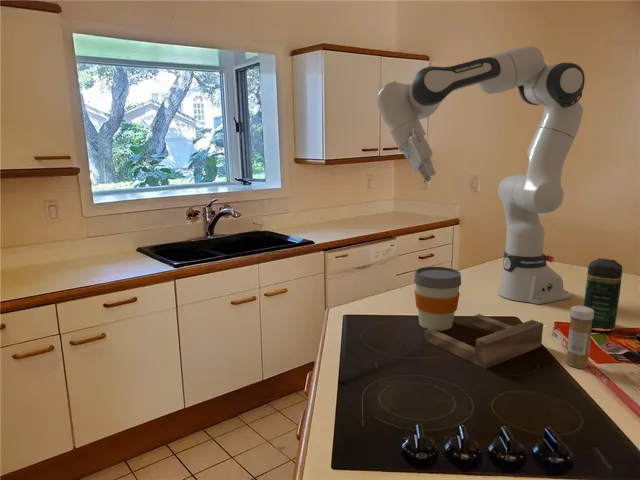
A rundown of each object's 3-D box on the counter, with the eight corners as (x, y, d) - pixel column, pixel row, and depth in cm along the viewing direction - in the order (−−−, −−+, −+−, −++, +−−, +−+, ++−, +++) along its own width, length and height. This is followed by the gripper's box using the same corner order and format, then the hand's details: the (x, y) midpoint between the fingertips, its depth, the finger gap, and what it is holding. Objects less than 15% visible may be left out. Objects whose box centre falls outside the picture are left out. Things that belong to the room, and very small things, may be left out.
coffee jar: (614, 336, 122) (622, 266, 119) (579, 329, 127) (586, 262, 123) (616, 324, 130) (624, 258, 126) (583, 318, 135) (590, 255, 131)
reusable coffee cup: (468, 326, 130) (471, 273, 127) (436, 336, 123) (438, 281, 120) (435, 312, 140) (437, 264, 137) (403, 321, 134) (404, 270, 131)
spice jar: (591, 365, 107) (598, 309, 104) (581, 371, 104) (587, 313, 102) (572, 358, 111) (577, 303, 108) (561, 363, 108) (566, 307, 105)
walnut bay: (424, 339, 122) (425, 317, 120) (478, 322, 133) (479, 302, 131) (485, 368, 106) (486, 343, 105) (541, 346, 117) (543, 323, 116)
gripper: (423, 120, 127) (446, 166, 126) (416, 139, 147) (436, 179, 146) (401, 131, 127) (424, 177, 126) (397, 148, 148) (417, 188, 147)
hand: (430, 178), depth 136 cm, fingers open, 8 cm apart
